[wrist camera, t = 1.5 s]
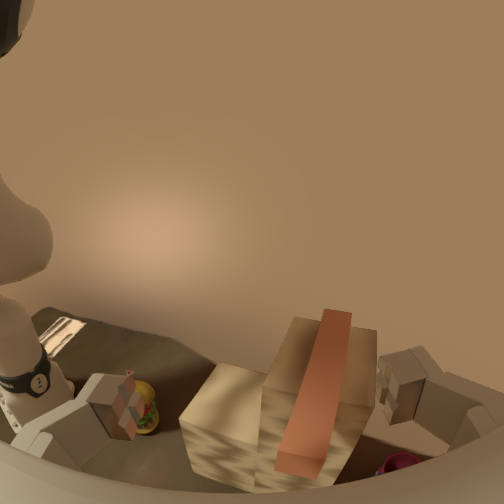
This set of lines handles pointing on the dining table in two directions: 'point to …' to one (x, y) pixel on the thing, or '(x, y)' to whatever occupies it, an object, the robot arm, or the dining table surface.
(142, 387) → the hamburger
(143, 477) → the dining table surface
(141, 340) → the dining table surface
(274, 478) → the stepped stand
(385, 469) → the mug
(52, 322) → the dining table surface
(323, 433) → the bar
